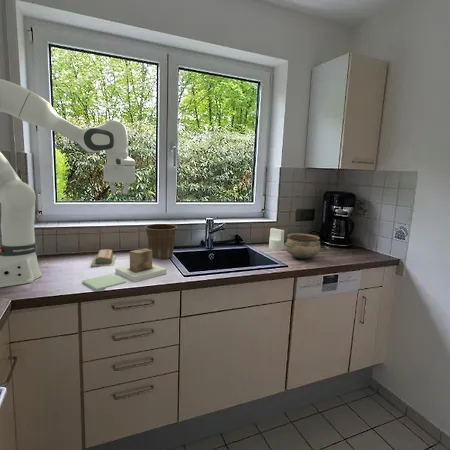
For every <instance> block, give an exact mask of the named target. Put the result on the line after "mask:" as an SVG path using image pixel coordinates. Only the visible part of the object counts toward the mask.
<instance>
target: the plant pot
mask: <svg viewBox="0 0 450 450" xmlns="http://www.w3.org/2000/svg"><path fill="white" fill-rule="evenodd" d="M144 228H145V230H146V235H147V245H148V249H149V250H152V259H161V260H166V259H170V258H172V257H173V255H174V246H175V236H176V232H177V230H176V229H177V228H178V226H177V225H174V224H168V223H154V224H153V223H152V224H148V225H146V226H145V227H144Z"/></svg>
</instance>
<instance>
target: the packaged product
mask: <svg viewBox="0 0 450 450" xmlns="http://www.w3.org/2000/svg"><path fill="white" fill-rule="evenodd" d="M113 253H114V252H113V250H112V249H108V248H107V249H105V248H104V249H103V248H102V249H99V250H98V252H97V254H95V256H93V257H94V258H93V260H92V262H91V263H90V268H101V267H112V266H114V265H115V262H116V261H115V260H116V254H113Z"/></svg>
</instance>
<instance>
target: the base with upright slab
mask: <svg viewBox="0 0 450 450" xmlns="http://www.w3.org/2000/svg"><path fill="white" fill-rule="evenodd" d="M269 230H270V231H269V239H268V240H269V242H268V249H269V250H271V251H282V250H284V246H285V245H284V244H285V229H279V228H274V227H271V228H270V229H269Z"/></svg>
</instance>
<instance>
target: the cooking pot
mask: <svg viewBox="0 0 450 450" xmlns="http://www.w3.org/2000/svg"><path fill="white" fill-rule="evenodd" d="M320 240H321V238H320V236H318V235H313V234H308V233H299V232H297V233H289V234H287V239H286V241H285V242H284V246H285V250H286V252H287V253H288V254H289V255H291V256H292V257H294V258H295V259H297V260H304V261H305V260H309V259H311V258H314V257H315V256H317V255H318V254H319V253H320V251H321V241H320Z"/></svg>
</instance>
